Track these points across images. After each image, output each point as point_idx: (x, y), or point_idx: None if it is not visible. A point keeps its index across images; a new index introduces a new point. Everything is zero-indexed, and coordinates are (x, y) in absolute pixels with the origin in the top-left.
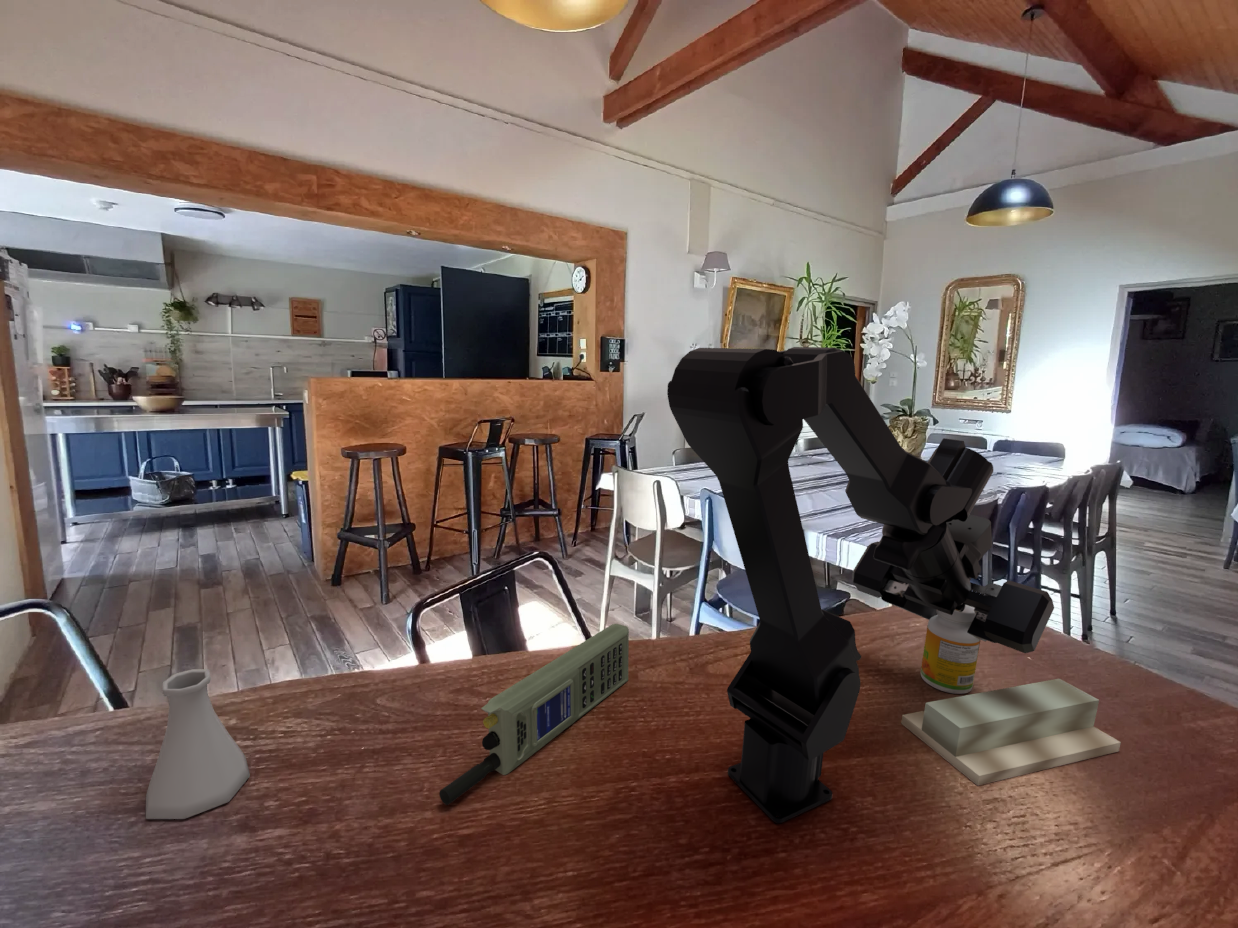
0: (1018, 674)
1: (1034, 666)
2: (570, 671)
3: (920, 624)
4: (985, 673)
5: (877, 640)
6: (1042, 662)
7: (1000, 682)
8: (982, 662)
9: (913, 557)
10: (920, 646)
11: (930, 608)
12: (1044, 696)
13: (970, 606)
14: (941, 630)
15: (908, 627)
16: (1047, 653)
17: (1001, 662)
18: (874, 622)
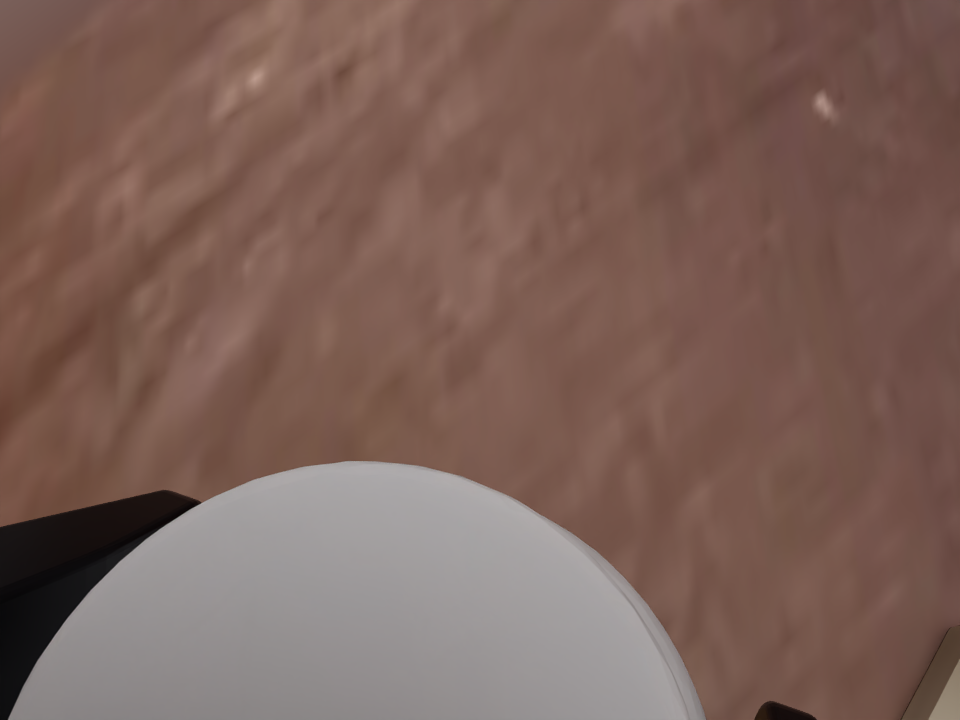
0: (821, 335)
1: (868, 184)
2: None
3: (271, 70)
4: (661, 450)
5: (14, 432)
6: (890, 115)
7: (757, 515)
8: (625, 315)
9: None
10: (278, 340)
11: (13, 696)
12: None
13: (561, 715)
14: None
15: (207, 143)
16: (886, 7)
17: (715, 247)
18: (11, 199)
